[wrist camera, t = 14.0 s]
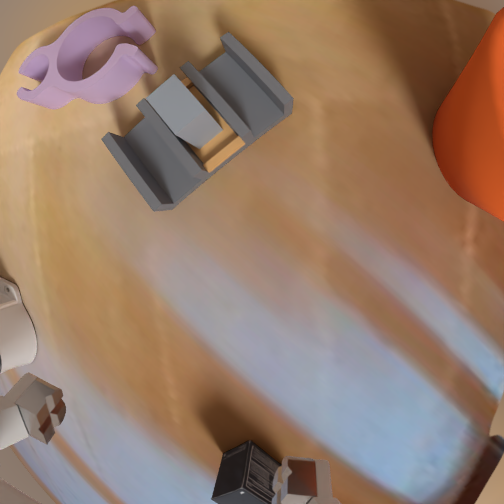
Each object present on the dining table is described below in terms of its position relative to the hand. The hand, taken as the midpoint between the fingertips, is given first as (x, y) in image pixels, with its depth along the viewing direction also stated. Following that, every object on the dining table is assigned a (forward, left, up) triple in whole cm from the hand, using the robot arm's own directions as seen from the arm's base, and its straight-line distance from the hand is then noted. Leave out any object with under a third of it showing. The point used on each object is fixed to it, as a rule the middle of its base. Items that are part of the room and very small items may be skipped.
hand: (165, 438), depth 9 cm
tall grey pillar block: (-12, +13, -29) cm, 34 cm away
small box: (+15, -30, -31) cm, 46 cm away
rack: (-12, +13, -31) cm, 36 cm away
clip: (-32, +16, -31) cm, 48 cm away
